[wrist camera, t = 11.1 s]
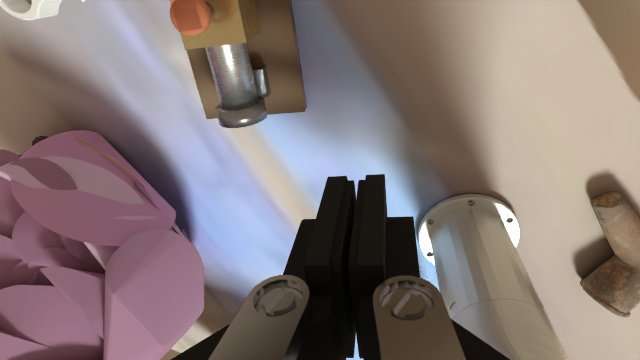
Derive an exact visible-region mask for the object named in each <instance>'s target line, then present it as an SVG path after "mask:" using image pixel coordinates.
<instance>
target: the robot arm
mask: <svg viewBox="0 0 640 360" xmlns="http://www.w3.org/2000/svg"><path fill="white" fill-rule="evenodd" d="M519 238H520V227H519V223H518V220H517V218H516V216H515V215H514V213H513V212H512V210H511V209H510V208H509V207H508V206H507V205H506V204H505V203H503V202H501V201H499V200H498V199H496V198H493V197H490V196H486V195H480V194H464V195H458V196H454V197H451V198H448V199H446V200H444V201H442V202H439V203H438V204H437V205H435V206H434V207H432V208H431V209H430V210H429V211H428V212H427V213H426V214H425V216H424V217H423V219H422V220H421V223H420V226H419V230H418V241H419V245H420V249H421V251H422V253H423V255H424V256H425V257H426V258H427V259H428V260H429V261H430V262H431V263H433V264H434V265H435V268H436V274H437V279H438V285H439V290H440V292H439V291H438V289H437V288H436V287H435V286H434V285H433V284H431V283H430V282H428V281H426V280H424V279H422V278H420V273H419V264H418V255H417V246H416V237H415V228H414V219H413V217H387V205H386V189H385V175H384V174H380V175H366V179H365V180H359V183H358V191H357V199H356V194H355V185H354V180H353V181H348V180H347V176H337V177H328V178H327V182H326V185H325V189H324V192H323V196H322V199H321V203H320V206H319V210H318V213H317V217H316V219H304V220H302V222H301V224H300V227H299V230H298V232H297V235H296V238H295V241H294V244H293V247H292V250H291V253H290V256H289V259H288V262H287V265H286V268H285V271H284V273H283V275H278V276H274V277H270V278H268V279H266V280H264V281H262V282H261V283H259V284H258V285H256V286H255V287H254V288H253V290H252V291H251V292H250V293H249V295H248V297H247V298H246V300H245V301H244V303H243V305H242V306H241V308H240V309H239V311H238V313H237V314H236V316H235V317H234V319H233V321H232V322H231V324H229V325H227V326H226V327H224V328H222V329H221V330H219V331H217V332H216V333H214V334H212V335H211V336H209V337H207V338H206V339H204V340H203V341H201V342H199V343H198V344H196V345H194V346H193V347H191V348H189V349H188V350H186V351H184V352H183V353H181V354H179V355H178V356H176V357H175V358H173V359H171V360H346V358H353V357H354V348H355V336H356V335H357V343H358V350H359V357H360V358H364V360H569V359H568V357H567V355H566V353H565V351H564V349H563V347H562V345H561V343H560V341H559V339H558V337H557V335H556V333H555V331H554V329H553V327H552V324H551V322H550V320H549V318H548V316H547V314H546V312H545V309H544V307H543V305H542V303H541V301H540V299H539V297H538V294H537V292H536V290H535V288H534V286H533V284H532V282H531V279H530V277H529V275H528V273H527V271H526V269H525V267H524V265H523V262H522V260H521V258H520V256H519V254H518V252H517V250H516V246H517V244H518V241H519Z"/></svg>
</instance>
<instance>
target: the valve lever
mask: <svg viewBox="0 0 640 360" xmlns="http://www.w3.org/2000/svg"><path fill="white" fill-rule="evenodd" d="M170 3H171V8H170V17H171V21H172V23H173V25H174V26H175V28H176V29H177V30H178V31H179V32H181V33H182V34H184V35H188V36H193V35H196V34H199V33H201V32H203V31H205V30H206V29H207V28H208V27H209V25H210V23H211V13H210V9H209V7H208V6H207V4H206V3H205V2H204V1H203V0H170Z"/></svg>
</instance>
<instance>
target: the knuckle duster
mask: <svg viewBox="0 0 640 360" xmlns="http://www.w3.org/2000/svg"><path fill="white" fill-rule="evenodd" d="M61 1H62V0H32V4H29V3H28V2H27V1H26V0H0V6H1V7H2V8H3V9H4V10H5V11H7V12H8V13H9V14H11V15H13V16H15V17H17V18H20V19H23V20H34V19H40V18H45V17H50V16H54V15H56V14H58V10H59V5H60V2H61ZM82 1H84V2H85V0H82Z"/></svg>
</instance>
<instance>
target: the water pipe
mask: <svg viewBox="0 0 640 360" xmlns="http://www.w3.org/2000/svg"><path fill="white" fill-rule="evenodd" d="M203 1H204V2H205V3H206V4H207V6H208V7H209V9H210V13H211V23H210V25H209V27H208V28H207V29H206V30H205V31H203V32H201V33H199V34H196V35H193V36H188V35H184V34H182V33H181V32H180V33H181V37H182V40H183V43H184V47H185V50H186V49H195V48H204V47H205V49H206V53H207V57H208V61H209V64H210V68H211V72H212V76H213V79H214V83H215V87H216V91H217V94H218V98H219V102H220V104H219V105H218V106H217V107H216V113H217V117H218V120H219V124H220V125H221V126H222V127H226V128H239V127H245V126H250V125H253V124H256V123H258V122H260V121H262V120H264V119H265V118H266V117H267V110H266V105H265V100H264V98H263V97H268V96H269V95H270V94H271V90H270V84H269V79H268V74H267V69H266V66H259V67H252V66H251V61H250V57H249V52H248V47H247V42H249V41H250V40H252V39H253V38H255V37H256V36H258V35H259V34H261V29H260V24H259V18H258V13H257V8H256V3H255V0H203Z"/></svg>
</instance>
